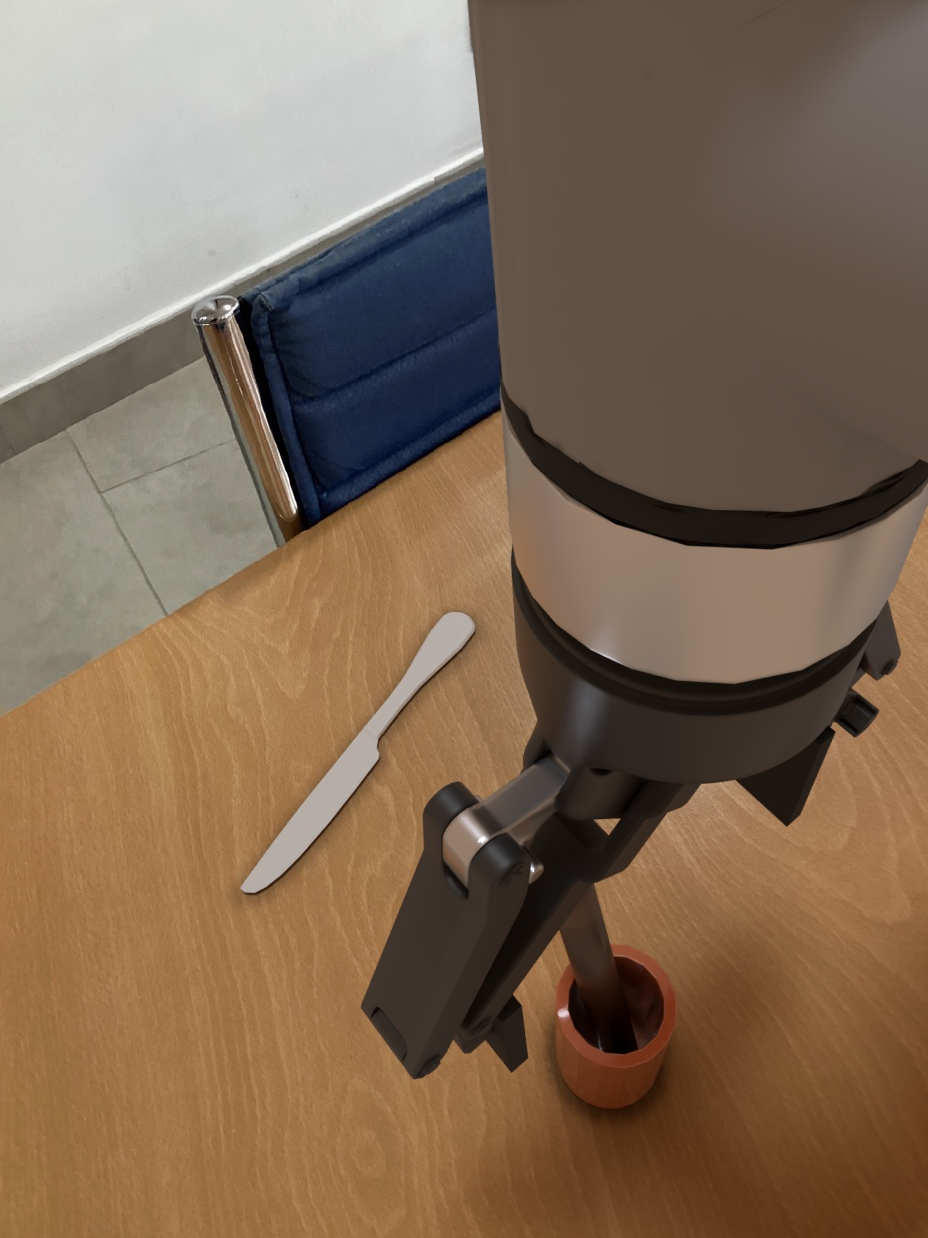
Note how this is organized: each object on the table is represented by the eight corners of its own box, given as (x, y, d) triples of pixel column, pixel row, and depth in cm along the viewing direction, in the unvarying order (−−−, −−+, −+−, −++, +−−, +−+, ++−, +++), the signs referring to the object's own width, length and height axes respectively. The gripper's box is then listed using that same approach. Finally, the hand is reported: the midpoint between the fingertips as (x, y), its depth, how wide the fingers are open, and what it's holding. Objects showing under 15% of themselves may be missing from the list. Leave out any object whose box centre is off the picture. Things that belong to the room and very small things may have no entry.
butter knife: (484, 622, 74) (450, 604, 75) (263, 904, 63) (226, 879, 64) (484, 625, 74) (450, 608, 75) (264, 907, 64) (228, 881, 65)
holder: (681, 1060, 57) (702, 1011, 49) (605, 1133, 56) (613, 1094, 47) (609, 980, 60) (618, 920, 52) (535, 1046, 58) (531, 996, 50)
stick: (648, 1082, 56) (586, 849, 41) (612, 1093, 56) (536, 864, 41) (636, 1046, 57) (572, 809, 43) (601, 1057, 57) (525, 824, 43)
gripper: (935, 196, 27) (790, 652, 44) (57, 780, 19) (298, 1056, 37) (1223, 338, 23) (942, 775, 41) (281, 1130, 16) (431, 1253, 33)
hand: (637, 909), depth 39 cm, fingers open, 13 cm apart
